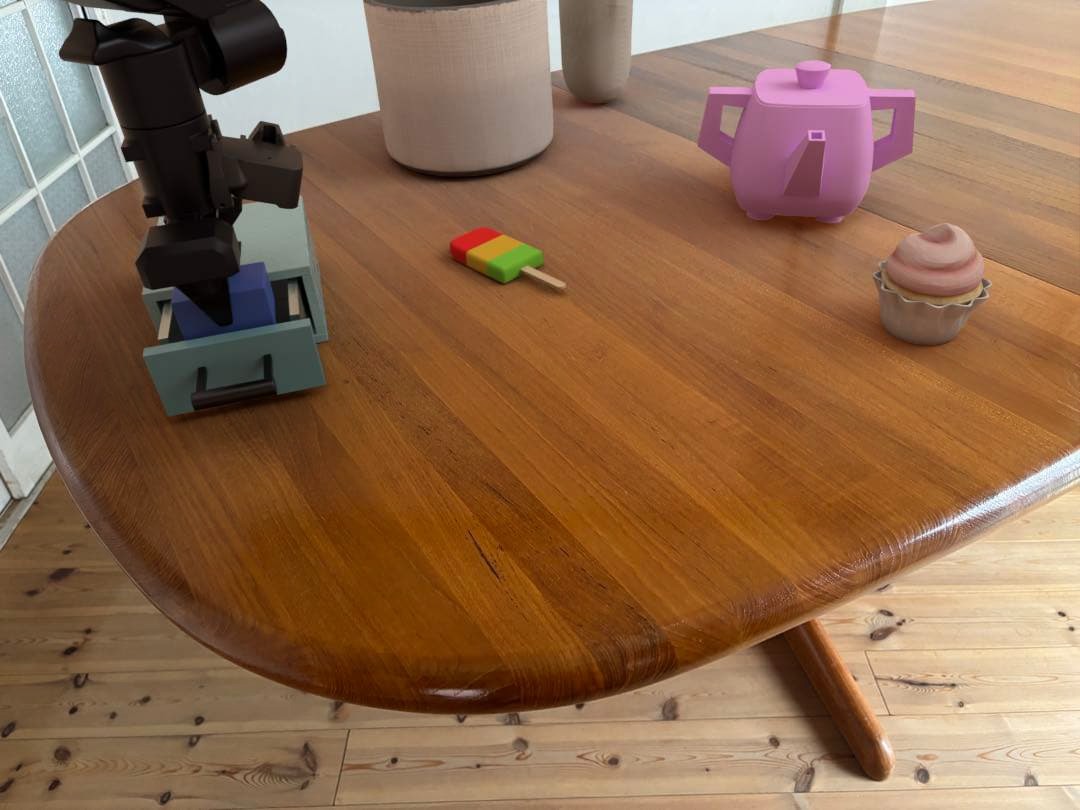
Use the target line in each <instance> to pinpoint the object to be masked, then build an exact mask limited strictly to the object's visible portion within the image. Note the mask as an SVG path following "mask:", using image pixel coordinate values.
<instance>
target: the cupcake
mask: <svg viewBox="0 0 1080 810" xmlns="http://www.w3.org/2000/svg"><path fill="white" fill-rule="evenodd" d="M877 266H878V270H876V271H874V272H872V274H871V277H872V279H873V282H874V285H875V287H876V289H877V293H878V299H879V312H880V323H881V324H882V328H883V329H884V330H885V331H886V332H888V334H890V336H892V337H894V338H896V339H899V340H901V341H904V342H907V343H909V344H914V345H922V346H936V345H943V344H947V343H949V342H951V341H952V340H953V339H955V338H956V337H957V336H958V334H959V333H960V331H961V330H962V329H963V327H964V325H965V323H966V322H967V321H968V319H969V318H970V316H971V315H972V313H973V312H975V310H976V309H978V308H979V307H980V306H981V305H982V304H983V303H984V302H985V301H986V300H988V299H989V298H990V293H989V292H988V290H989V289H990V288H991V287H992V285H993V282H992V281H991V280H990V279H988V278H985V277H984V275H985V263H984V258H983V255H982V254H981V253H980V251H979V250H978V249H977V248H976V247H975V243H974V242H973V239H972V238H971V237H970V236H969V235H968V233H967V232H966V231H965V230H964V229H962V228H960V227H959V226H957V225H954V224H951V223H949V222H943V223H939V224H934V225H932V226H930V227H929V228H927V229H925V230H924V231H923V232H913V233H909V234H907V235H905V236H904V238H902V239H901V240H900V241H899V242H898V243H897V245H896V247H895V249H894V251H893V252H891V254H889V256H888V257H887V258H886V260H882V261H880V262H878V264H877Z"/></svg>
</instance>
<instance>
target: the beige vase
mask: <svg viewBox="0 0 1080 810" xmlns="http://www.w3.org/2000/svg"><path fill="white" fill-rule="evenodd" d="M633 10H634V0H558V16H559V17H558V18H559V33H560V35H559V38H560V55H561V56H560V57H561V58H560V59H561V70H562V75H563V80H564V82H565V85H566V87H567V89H568V90H569V92H570V93H571V94H572V95H573V96H574V97H575V98H576V99H578V100H579V101H581V102H583V103H588V104H606V103H609V102H612V101H613V100H615V99H617V98H618V97H619V96H620V95H621V93H622V92H623V90H624V89H625V87H626V85H627V82H628V80H629V77H630V73H631V64H632V35H633V34H632V30H633V16H634V15H633V14H634V13H633Z"/></svg>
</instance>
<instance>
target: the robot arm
mask: <svg viewBox="0 0 1080 810" xmlns="http://www.w3.org/2000/svg"><path fill="white" fill-rule="evenodd" d="M62 2H66V3H70V4H73V5H77V6H80V7H83V8H91V9H102V10H111V11H123V12H125V13H135V14H145V15H155V16H162V17H163V21H164V22H163V23H160V24H157V25H155V24H154V23H152V22H151V21H149V20H147V19H144V18H140V17H131V18H130V17H129V18H127V19H123V20H120V21H117V22H113V23H109V24H106V25H105V24H104V23H102V22H101V21H100V20H99V19H93V18H87V17H86V18H84V17H75V18H74V19H73V22H72V28H71V30H70V32H69V34H68V36H67V37H66V38H65V39H64V41H63V42H62V45H61V47H60V48H59V50H58V57H59V58H60V60H61V61H63V62H68V63H74V64H81V65H89V66H96V67H98V70H99V73H100V75H101V78H102V81H103V84H104V87H105V89H106V92H107V94H108V97H109V100H110V103H111V105H112V108H113V111H114V113H115V116H116V119H117V121H118V124H119V128H120V130H121V133H122V135H123V140H122V143H121V145H120V150H121V153H122V156H123V159H124V161H125V163H131V162H132V163H133V166H134V168H135V170H136V173H137V176H138V179H139V182H140V185H141V187H142V190H143V192H144V196H143V199H142V202H141V207H142V210H143V212H144V215H145V218H146V219H152V218H159V217H164V220H163V222H164V223H165V225H160V226H157V225H153V226H149V227H148V229H147V230H146V232H145V233H144V235H143V236H142V238H141V240H140V241H139V245H138V249H137V253H136V257H135V260H134V265H135V267H136V270H137V272H138V275H139V278H140V280H141V283H142V286H144V288H147V289H150V290H157V289H162V288H168V287H174V286H175V287H176V288H177V289H179V290H180V291H181V292H182V293H183V294H184V295H186V296H187V297H188V298H189V299H190V300H191V301H192V302H193V303H194V304H195V305H197V306H198V307H199V308H200V309H201V310H202V311H203V312H204V313H205V314H206V315H207V316H208V317H209V318H210V319H212V320H213V321H214V322H215V323H216V324H217V325H218V326H220V327H223V326H229V325H232V324H233V314H232V304H231V295H230V286H229V277H232V276H233V275H235V274H237V273H238V272H240V257H241V241H237V237H236V234H235V231H234V227H233V224H234V223H235V221H236V220H237V218H238V217H239V215H240V214H241V212H242V204H243V201H244V200H245V201H251V202H262V203H268V204H275V205H277V206H278V207H279V208H283V209H295V208H297V207H298V202H299V196H300V193H301V189H302V188H301V187H302V179H303V174H304V173H303V172H304V161H303V153H302V152H301V151H300V150H299V149H297V147H296V144H294V143H293V144H292V143H290V144H289V146H288V145H287V142H286V140H285V137H284V135H283V131H282V128H281V127H280V124H278V123H274V122H269V121H263V120H259V121H258V123H257V125H256V126H255V127H254V128H253V130H252V131H251V132H250V134H249V136H248V137H247V135H245V134H240V135H239V137H233V136H225V135H222V131H221V128H220V125H219V121H218V119H217V118H216V119H215V118H213V116H212V114H211V113H210V114H208V112H207V109H206V105H205V102H204V99H203V96H202V93H201V91H202V92H204V93H206V94H209V95H211V96H222V95H224V94H227V93H229V92H232V91H235V90H238V89H239V88H242V87H244V86H247V85H249V84H252V83H255V82H257V81H260V80H262V79H265V78H267V77H270V76H272V75H275V74H277V73H278V72H280V71H281V70H282V69H283V68H284V66H285V65H286V62H287V59H288V43H287V37H286V33H285V30H284V28H282V27H281V26H280V24H279V22H278V19H277V18H276V16H275V14H274V13H273V11H272V10H271V9H270V8H269V6H267V5H266V4H265V3H264V1H262V0H62Z"/></svg>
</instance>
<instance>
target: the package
mask: <svg viewBox="0 0 1080 810" xmlns="http://www.w3.org/2000/svg"><path fill="white" fill-rule="evenodd" d="M229 286H230V295H231V304H232V314H233V324H232V325H229V326H223V327H220V326H218V325H217V324H216V323H215V322H214V321H213V320H212V319H210V318H209V317H208V316H207V315H206V314H205V313H204V312H203V311H202V310H201V309H200V308H199V307H198V306H197V305H195V304H194V303H193V302H192V301H191V300H190V299H189V298H188V297H187V296H186V295H184V294H183V293H182V292H181V291H180V290H179V289H177V288H176V287H175V286H174V287H173V293H172V300H171V306H172V308H173V311H174V314H175V316H176V319H177V322H178V324H179V327H180V329H181V332H182V335H183V337H184V340H185V341H187V340H192V339H198V338H203V337H209V336H214V335H220V334H225V333H230V332H236V331H241V330H247V329H252V328H258V327H263V326H269V325H274V324H276V321H275V298H274V295H273V291H272V288H271V284H270V281H269V277H268V274H267V270H266V267H265V264H264V262H257V263H251V264H245V265H240V272H238V273H237V274H235V275H233V276H232V277H229Z"/></svg>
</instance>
